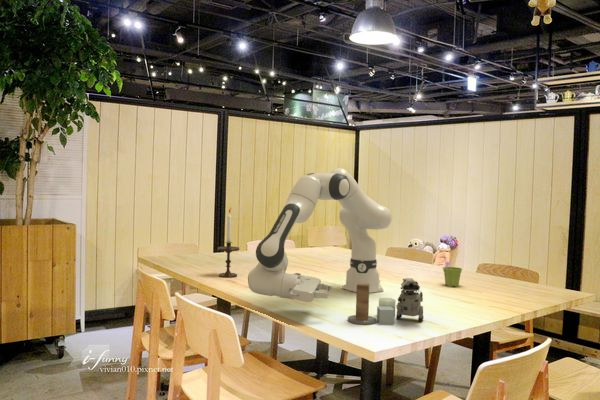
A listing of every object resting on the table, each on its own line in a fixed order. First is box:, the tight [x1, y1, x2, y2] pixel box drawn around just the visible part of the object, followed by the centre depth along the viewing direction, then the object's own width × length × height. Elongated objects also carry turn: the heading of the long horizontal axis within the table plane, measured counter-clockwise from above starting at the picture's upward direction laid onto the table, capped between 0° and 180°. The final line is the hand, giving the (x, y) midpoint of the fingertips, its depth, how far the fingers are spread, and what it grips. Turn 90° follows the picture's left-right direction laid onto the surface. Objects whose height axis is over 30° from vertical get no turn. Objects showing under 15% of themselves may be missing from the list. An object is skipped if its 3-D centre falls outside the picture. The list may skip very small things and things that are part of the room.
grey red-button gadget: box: [395, 277, 424, 323], centre depth 178 cm, size 9×12×15 cm
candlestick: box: [217, 207, 240, 279], centre depth 256 cm, size 11×11×35 cm
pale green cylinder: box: [378, 297, 396, 318], centre depth 185 cm, size 6×6×6 cm
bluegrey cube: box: [376, 305, 396, 325], centre depth 176 cm, size 5×5×5 cm
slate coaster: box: [347, 314, 378, 326], centre depth 177 cm, size 10×10×1 cm
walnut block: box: [355, 283, 370, 320], centre depth 177 cm, size 4×4×12 cm
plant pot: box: [442, 266, 463, 288], centre depth 247 cm, size 9×9×9 cm
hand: (329, 291), depth 180 cm, fingers open, 8 cm apart
